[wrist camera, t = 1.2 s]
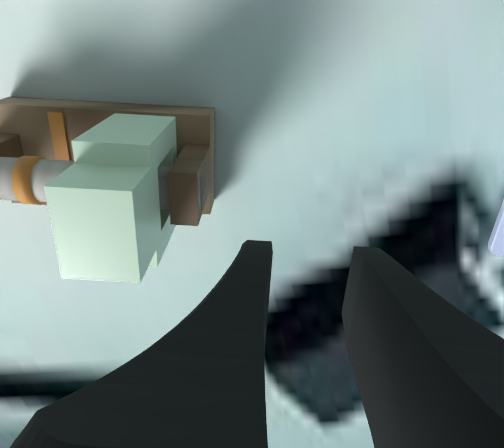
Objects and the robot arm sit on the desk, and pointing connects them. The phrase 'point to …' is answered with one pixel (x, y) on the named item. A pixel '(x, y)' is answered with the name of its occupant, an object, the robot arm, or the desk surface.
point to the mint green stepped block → (113, 199)
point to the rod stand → (81, 120)
